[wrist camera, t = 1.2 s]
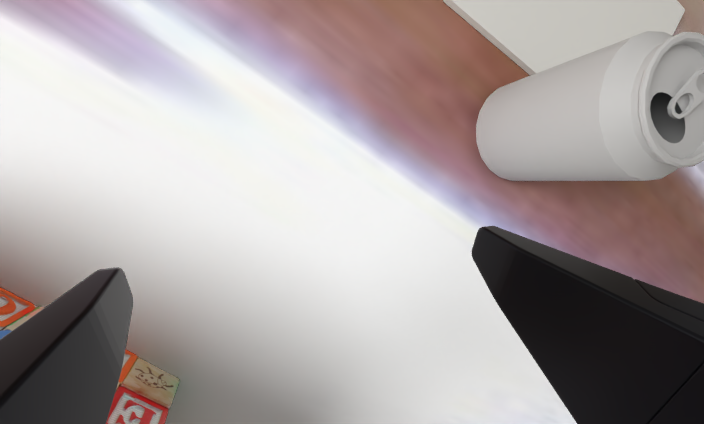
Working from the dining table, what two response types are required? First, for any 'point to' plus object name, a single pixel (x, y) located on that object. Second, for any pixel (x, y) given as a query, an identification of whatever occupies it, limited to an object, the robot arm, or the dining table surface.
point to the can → (601, 114)
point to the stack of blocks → (135, 379)
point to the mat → (563, 26)
